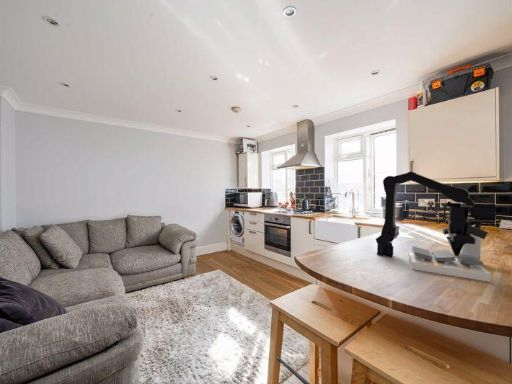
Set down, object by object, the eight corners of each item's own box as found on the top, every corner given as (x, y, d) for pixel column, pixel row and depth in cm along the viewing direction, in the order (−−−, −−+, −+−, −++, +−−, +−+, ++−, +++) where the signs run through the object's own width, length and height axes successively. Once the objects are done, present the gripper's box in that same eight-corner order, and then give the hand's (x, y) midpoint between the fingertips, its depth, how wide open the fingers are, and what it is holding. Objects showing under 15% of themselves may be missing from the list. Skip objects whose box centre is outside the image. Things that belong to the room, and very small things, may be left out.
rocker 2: (436, 261, 88) (435, 257, 88) (431, 253, 97) (431, 250, 97) (455, 260, 85) (455, 257, 85) (449, 253, 94) (448, 250, 94)
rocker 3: (461, 263, 84) (461, 259, 84) (453, 255, 93) (453, 252, 93) (482, 265, 81) (482, 262, 81) (472, 257, 90) (472, 254, 90)
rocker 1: (414, 255, 92) (415, 252, 92) (411, 248, 101) (412, 246, 101) (431, 260, 89) (432, 257, 89) (427, 253, 98) (428, 250, 98)
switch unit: (411, 268, 90) (412, 259, 89) (408, 258, 102) (408, 250, 102) (490, 281, 77) (490, 270, 77) (475, 268, 90) (475, 258, 90)
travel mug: (485, 264, 95) (486, 219, 94) (467, 263, 96) (468, 219, 95) (473, 260, 101) (474, 217, 100) (457, 259, 102) (458, 217, 101)
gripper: (496, 223, 76) (493, 266, 77) (477, 217, 92) (475, 253, 93) (454, 220, 82) (452, 260, 83) (443, 215, 98) (441, 248, 98)
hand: (456, 255), depth 89 cm, fingers closed, pressing on rocker 3
